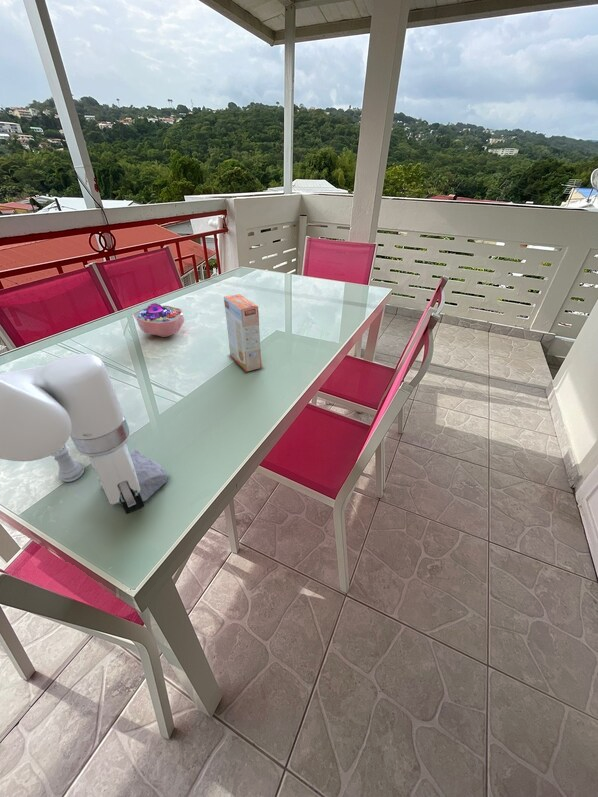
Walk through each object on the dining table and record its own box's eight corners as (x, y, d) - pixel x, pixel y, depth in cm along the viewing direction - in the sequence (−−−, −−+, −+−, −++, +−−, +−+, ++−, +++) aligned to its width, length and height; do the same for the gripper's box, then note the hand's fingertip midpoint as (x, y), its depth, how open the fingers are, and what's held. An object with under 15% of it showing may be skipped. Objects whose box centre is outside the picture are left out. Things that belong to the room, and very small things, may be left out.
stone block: (133, 518, 63) (173, 478, 69) (121, 505, 60) (163, 464, 65) (100, 491, 69) (139, 456, 74) (87, 478, 65) (129, 443, 71)
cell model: (150, 348, 119) (142, 318, 112) (133, 331, 132) (125, 303, 125) (194, 336, 128) (189, 308, 121) (175, 321, 140) (169, 294, 134)
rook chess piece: (55, 481, 68) (38, 453, 64) (71, 465, 72) (56, 438, 67) (75, 484, 68) (59, 456, 63) (89, 468, 71) (75, 440, 67)
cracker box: (262, 368, 108) (259, 305, 96) (245, 373, 105) (239, 309, 93) (245, 351, 118) (240, 292, 106) (229, 355, 115) (222, 295, 103)
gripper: (67, 416, 54) (104, 490, 64) (80, 473, 44) (122, 549, 54) (117, 401, 57) (144, 473, 68) (139, 450, 48) (167, 526, 58)
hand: (134, 507), depth 61 cm, fingers closed
